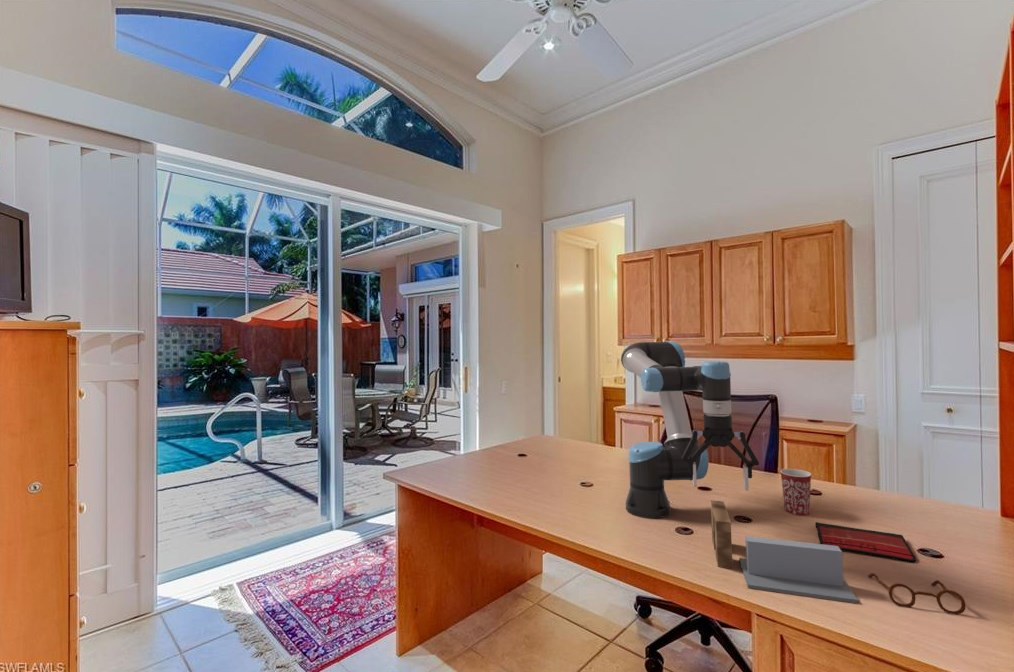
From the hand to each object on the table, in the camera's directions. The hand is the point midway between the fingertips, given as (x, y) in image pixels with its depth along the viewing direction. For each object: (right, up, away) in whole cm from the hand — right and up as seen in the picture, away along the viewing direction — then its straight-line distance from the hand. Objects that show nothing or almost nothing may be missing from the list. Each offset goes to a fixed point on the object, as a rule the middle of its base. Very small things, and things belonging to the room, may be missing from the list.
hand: (720, 487), depth 130 cm
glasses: (+32, -16, -27) cm, 45 cm away
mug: (+39, -16, +24) cm, 49 cm away
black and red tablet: (+40, -17, -2) cm, 44 cm away
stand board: (+9, -16, -19) cm, 27 cm away
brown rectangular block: (-2, -17, -5) cm, 18 cm away
